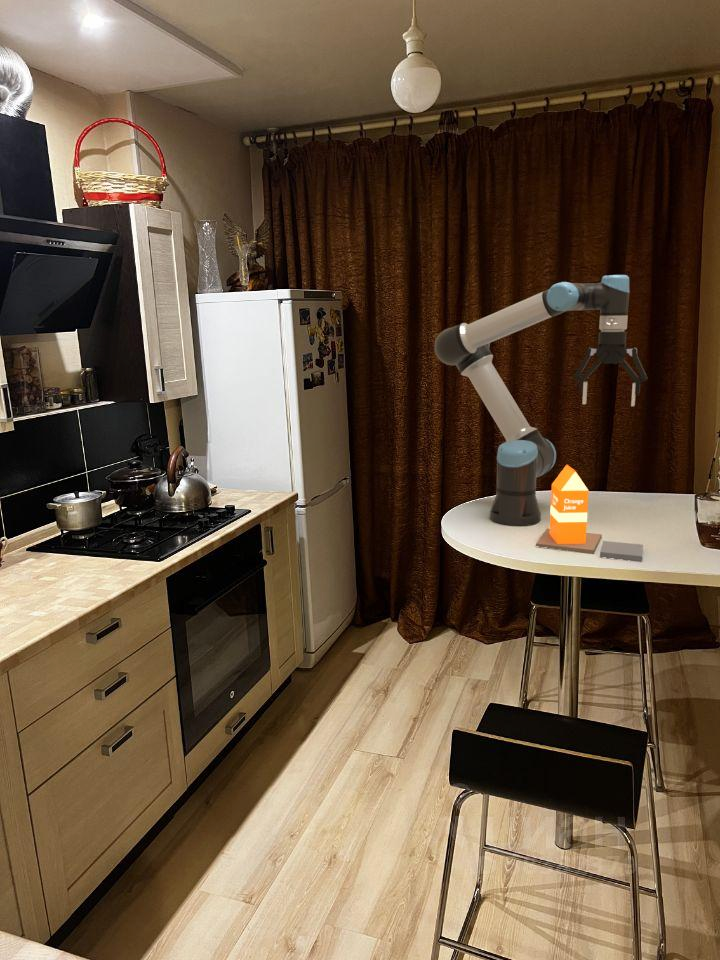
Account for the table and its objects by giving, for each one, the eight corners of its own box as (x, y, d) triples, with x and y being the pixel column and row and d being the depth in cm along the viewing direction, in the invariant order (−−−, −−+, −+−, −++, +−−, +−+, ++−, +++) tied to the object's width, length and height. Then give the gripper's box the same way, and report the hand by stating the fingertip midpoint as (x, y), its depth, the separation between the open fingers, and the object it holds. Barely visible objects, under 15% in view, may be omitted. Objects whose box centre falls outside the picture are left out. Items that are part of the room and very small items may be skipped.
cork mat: (535, 546, 196) (535, 543, 196) (546, 531, 209) (547, 528, 209) (593, 553, 190) (593, 550, 190) (601, 537, 203) (601, 534, 203)
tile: (602, 547, 196) (599, 559, 187) (603, 540, 196) (600, 551, 187) (642, 551, 193) (641, 563, 184) (643, 544, 192) (642, 556, 183)
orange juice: (557, 543, 195) (560, 470, 191) (548, 534, 204) (552, 464, 199) (586, 543, 195) (590, 470, 191) (576, 533, 204) (580, 463, 199)
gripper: (565, 331, 211) (562, 404, 215) (658, 331, 200) (653, 408, 205) (570, 330, 217) (567, 401, 222) (660, 330, 207) (654, 404, 212)
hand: (608, 404), depth 214 cm, fingers open, 13 cm apart
